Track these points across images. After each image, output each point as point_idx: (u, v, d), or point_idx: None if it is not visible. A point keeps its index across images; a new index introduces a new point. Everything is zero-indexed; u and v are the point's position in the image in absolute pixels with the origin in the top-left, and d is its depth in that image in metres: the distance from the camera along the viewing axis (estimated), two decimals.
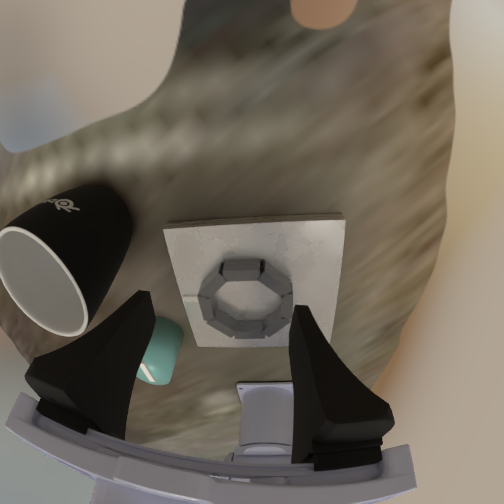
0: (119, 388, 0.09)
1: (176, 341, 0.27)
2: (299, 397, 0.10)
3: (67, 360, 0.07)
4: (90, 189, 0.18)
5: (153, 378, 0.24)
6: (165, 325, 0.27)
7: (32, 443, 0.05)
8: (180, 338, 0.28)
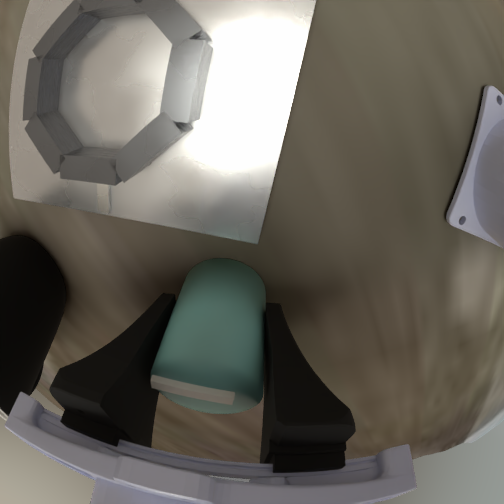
0: (147, 395, 0.09)
1: (213, 283, 0.12)
2: (266, 396, 0.10)
3: (97, 370, 0.07)
4: None
5: (221, 394, 0.09)
6: (186, 281, 0.13)
7: (32, 443, 0.05)
8: (229, 271, 0.13)
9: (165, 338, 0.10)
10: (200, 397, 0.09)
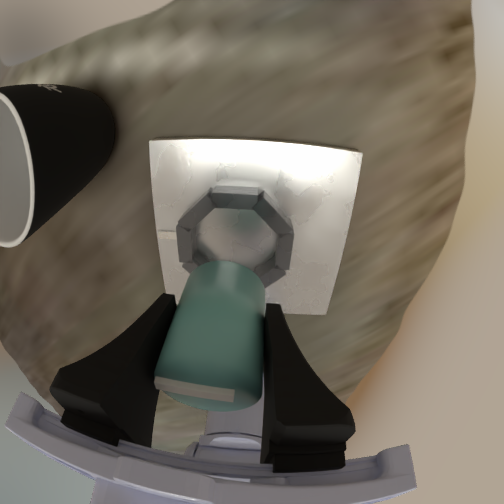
0: (147, 395, 0.09)
1: (210, 285, 0.12)
2: (266, 396, 0.10)
3: (97, 370, 0.07)
4: (78, 88, 0.13)
5: (221, 392, 0.10)
6: (186, 285, 0.13)
7: (32, 443, 0.05)
8: (226, 272, 0.13)
9: (166, 341, 0.10)
10: (202, 396, 0.10)
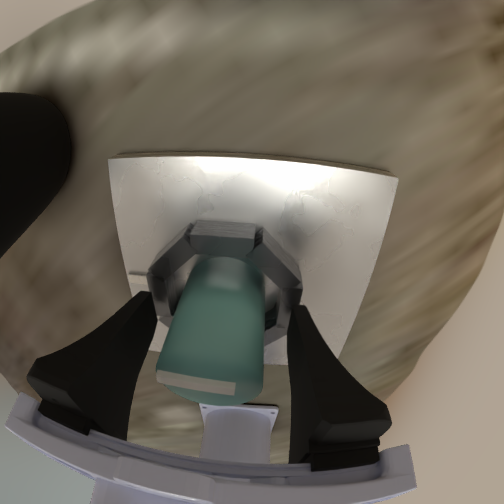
0: (121, 389, 0.09)
1: (211, 280, 0.12)
2: (296, 397, 0.10)
3: (69, 361, 0.07)
4: (23, 93, 0.08)
5: (223, 385, 0.10)
6: (187, 281, 0.14)
7: (32, 443, 0.05)
8: (227, 268, 0.13)
9: (168, 334, 0.11)
10: (203, 389, 0.10)
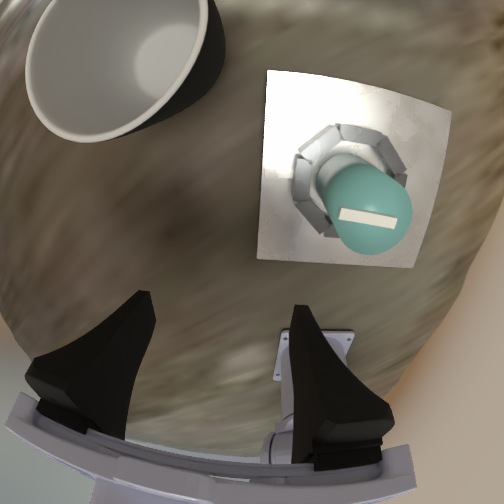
0: (119, 388, 0.09)
1: (354, 159, 0.15)
2: (299, 397, 0.10)
3: (67, 360, 0.07)
4: None
5: (389, 216, 0.13)
6: (327, 167, 0.17)
7: (32, 443, 0.05)
8: (358, 157, 0.16)
9: (342, 182, 0.13)
10: (375, 221, 0.13)
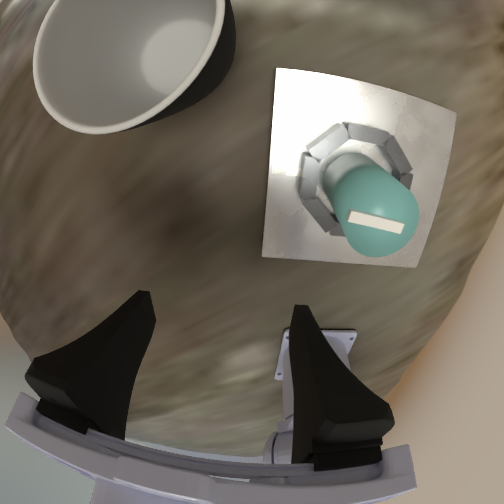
0: (119, 388, 0.09)
1: (364, 160, 0.15)
2: (299, 397, 0.10)
3: (67, 360, 0.07)
4: None
5: (396, 221, 0.13)
6: (335, 166, 0.16)
7: (32, 443, 0.05)
8: (367, 158, 0.16)
9: (352, 184, 0.13)
10: (382, 226, 0.13)
